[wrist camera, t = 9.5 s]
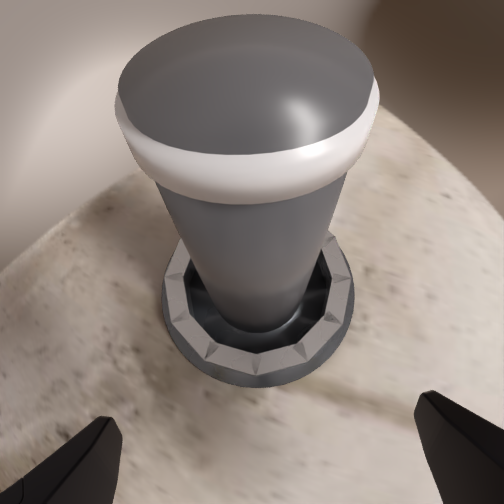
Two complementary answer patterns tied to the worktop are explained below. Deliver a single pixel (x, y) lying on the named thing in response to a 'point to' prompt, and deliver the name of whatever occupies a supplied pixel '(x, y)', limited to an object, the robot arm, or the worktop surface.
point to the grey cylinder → (249, 149)
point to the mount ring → (259, 344)
